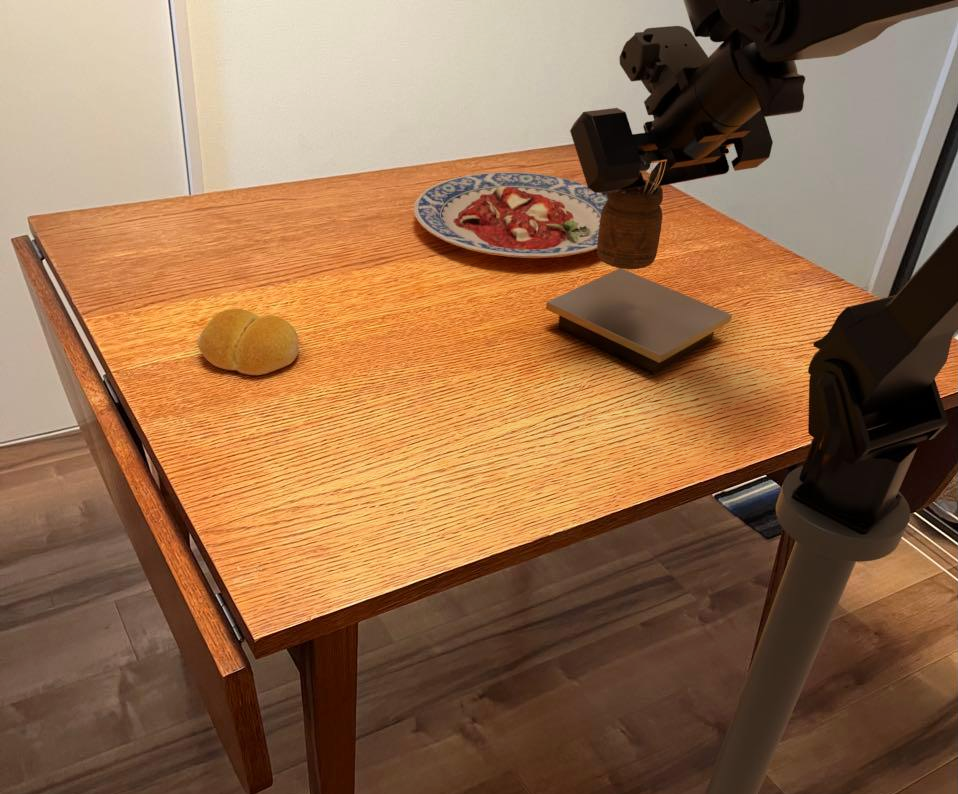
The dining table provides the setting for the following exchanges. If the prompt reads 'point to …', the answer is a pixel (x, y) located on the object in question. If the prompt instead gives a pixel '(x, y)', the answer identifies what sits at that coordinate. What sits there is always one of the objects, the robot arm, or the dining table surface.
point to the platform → (637, 320)
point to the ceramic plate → (513, 214)
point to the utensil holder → (631, 226)
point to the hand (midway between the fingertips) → (626, 186)
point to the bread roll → (248, 342)
